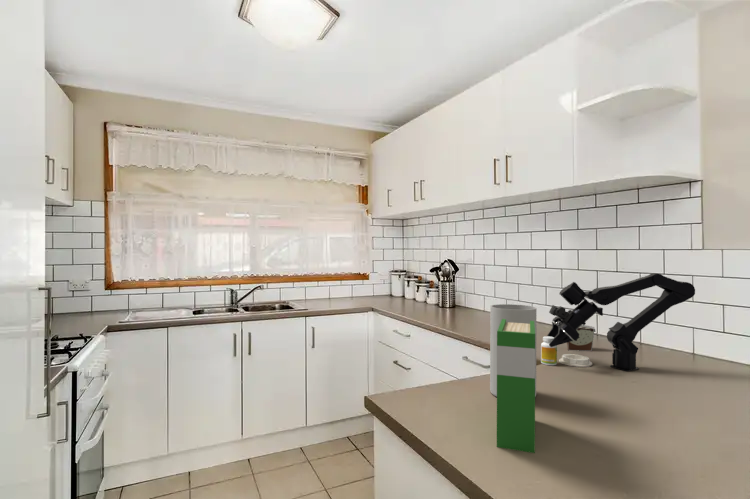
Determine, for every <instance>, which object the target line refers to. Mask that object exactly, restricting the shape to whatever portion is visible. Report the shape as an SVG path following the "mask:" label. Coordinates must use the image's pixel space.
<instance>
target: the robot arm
mask: <svg viewBox="0 0 750 499" xmlns="http://www.w3.org/2000/svg"><path fill="white" fill-rule="evenodd" d="M653 287H658V288H660V289H662V290H663V291H662V293H661V294H660V296H659V297H658V298H657V299H656V300H654V301H653V302H651V303H650V304H649V305H648V306H646V307H645V308H644V309H643V310H642V311H640V312H639V313H637V314H636V315H635V316H634V317H633V318H631V319H630V320H628V321H626V322H625V323H622V322H619V321H617V322H616V323H614V325H613V326H611V327H608V332H607V333H606V339H607V341H608V342H609V343H610V344H611V345H612V347H613V349H612V350H613V352H612V361H611V362H612V364H611V365H610V367H611V368H614V369H617V370H621V371H625V372H633V371H636V370H640V368H639V367H637V353H638V351H639V347H638V346H637V345H636V344H634V342H633V341H634V340H635V339H636V337H637V335H638V333H639V332H641V331H642V330H643V329H644V328H645V327H647V326H648V325H649V324H651V323H652V322H653V321H655V320H656V319H657V318H658V317H660V316H661V315H662V314H664V313H665V312H666V311H668V310H669V309H670V308H672V307H673V306H675V305H678V304H681V303H684V302H686V301H688V300H690V299H692V298H693V297H694V296H695V294H696V289H695V286H694V284H692V283H691V282H688V281H679V280H676V279H672V278H670V277H667V276H665V275H664V274H661V273H654V272H653V273H650V274H648V275H645V276H641V277H639V278H636V279H633V280H629V281H626V282H623V283H620V284H617V285H609V286H602V287H595V288H594V289H592V291H584V290H583V289H582V288H581V287H580V286H579V284H577V283H576V282H575V281H572V282H571V283H570V284H568V285H566V286H564V287H563V288H562V289H561V290H560V292H559V295H560V296H561V297H562V298H563V300H565V301H566V302H567V303H568V304H569V305H570V306H573V305H574V306H576V307H574V308H573V309H568V310H566V308H565V307H563V306H559V307H558V306H556V305H554V304H552V306H551V307H550V309H549V311H548V313H549V314H551V315H552V316H555V317H554V318H552V321H551V328H550V331H548V333H547V335H546V336H550V337H554V339H553V340H552V341H551V342H550V344H549V346H550V347H553V346H557V347H558V346H560V345H563V344H567V342H571V341H573V340H574V341H576V340H577V339H578V338H579V333H578V332H577V329H578V328H579V327H580V326H581V325H587V324H586V323H587V322H588V320H590V319H591V318H592V316H595V314H597V315H600V316H602V317H603V316H604V313H603V310H604V308H603V307H599V306H598V305H601V306H608V305H611V304H612V303H614V302H616V301H617V300H619V299H620V298H621V297H624V296H627V295H630V294H634V293H637V292H641V291H644V290H647V289H650V288H653ZM587 299H589V300H592V301H591V302H590V301H589V300H587ZM596 304H598V305H596ZM572 339H573V340H572Z"/></svg>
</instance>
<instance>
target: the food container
mask: <svg viewBox="0 0 750 499" xmlns="http://www.w3.org/2000/svg"><path fill="white" fill-rule="evenodd" d="M577 332H578V333H579V338H578V339H577V340H576V341H574V340H573V339H572V340H573V341H571V342H567V343H566V347H567V351H569V350H579V351H578V352H592V351H593V347H594V346H593V345H594V335H595V333H597V332H596V328H595V326H592V325H587V324H585V325H583V324H582V325H581V326H580V327H579V328H578V329H577Z"/></svg>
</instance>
